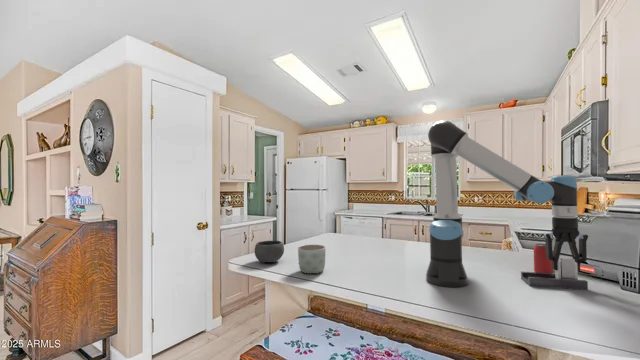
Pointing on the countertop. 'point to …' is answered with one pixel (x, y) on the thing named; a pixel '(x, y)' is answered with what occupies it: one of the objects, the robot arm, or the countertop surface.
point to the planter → (311, 258)
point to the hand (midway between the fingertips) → (566, 279)
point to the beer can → (542, 259)
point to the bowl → (269, 251)
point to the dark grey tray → (552, 281)
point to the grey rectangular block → (567, 267)
